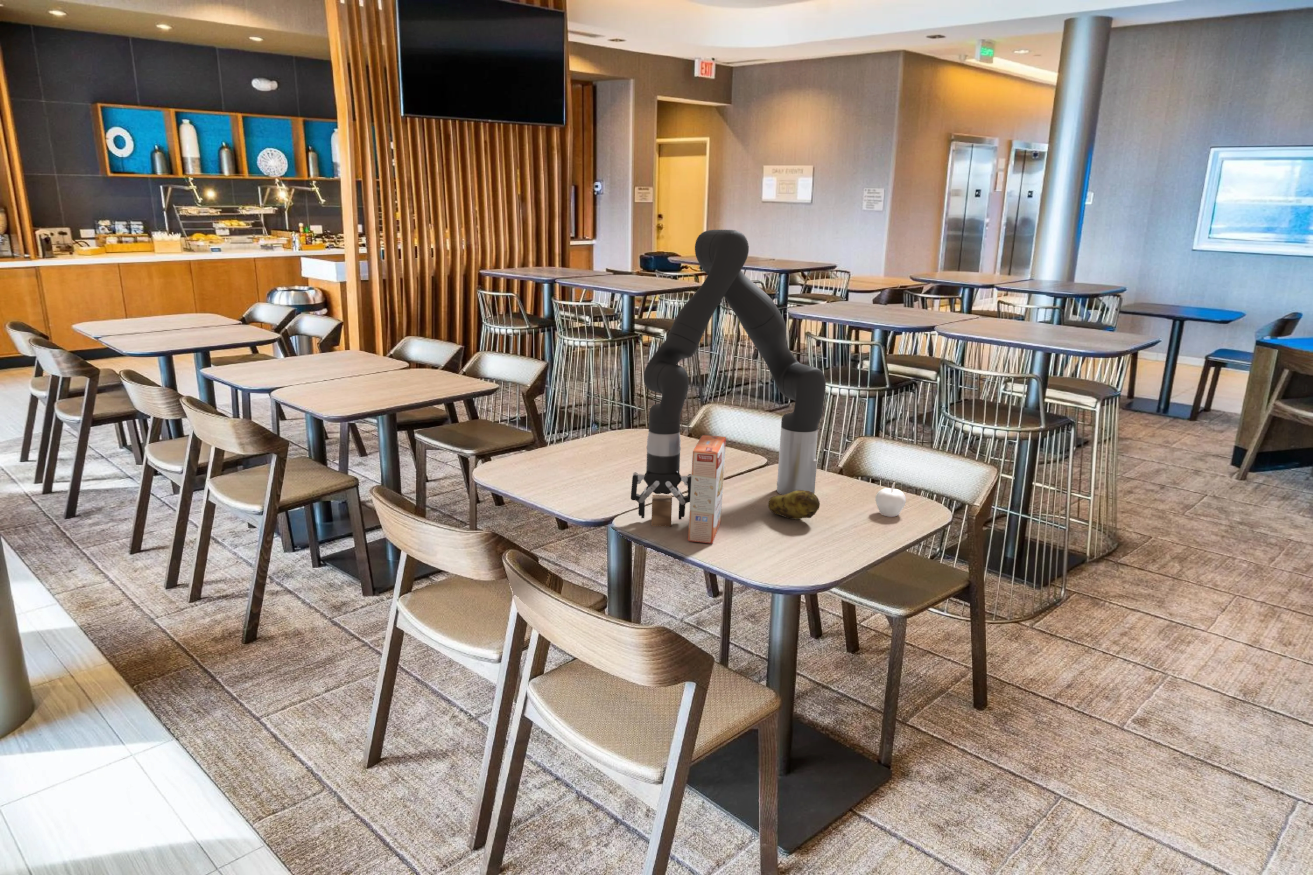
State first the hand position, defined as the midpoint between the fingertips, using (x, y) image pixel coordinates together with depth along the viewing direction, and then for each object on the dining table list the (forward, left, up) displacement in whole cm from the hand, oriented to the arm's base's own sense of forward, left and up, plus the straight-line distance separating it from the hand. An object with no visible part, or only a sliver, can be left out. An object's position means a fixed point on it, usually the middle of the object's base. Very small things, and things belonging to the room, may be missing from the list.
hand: (661, 517), depth 200 cm
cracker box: (-10, +5, -1) cm, 11 cm away
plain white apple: (-55, -11, -1) cm, 56 cm away
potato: (-31, -5, -1) cm, 31 cm away
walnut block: (0, 0, -1) cm, 1 cm away
